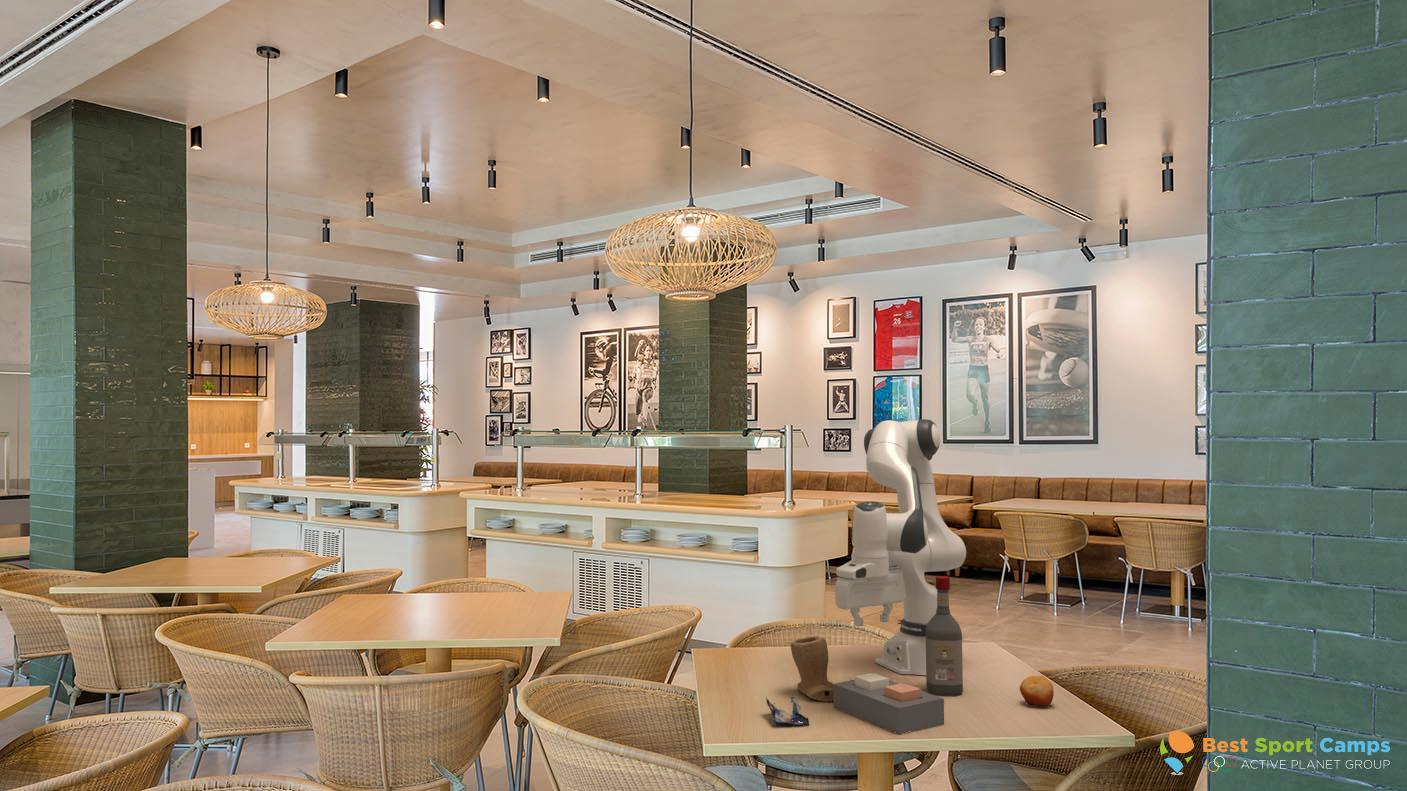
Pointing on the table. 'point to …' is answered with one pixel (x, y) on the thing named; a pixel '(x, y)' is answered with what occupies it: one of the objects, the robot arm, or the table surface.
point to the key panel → (888, 708)
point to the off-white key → (871, 681)
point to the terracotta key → (902, 692)
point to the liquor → (943, 647)
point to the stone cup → (812, 667)
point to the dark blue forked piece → (795, 716)
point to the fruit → (1037, 691)
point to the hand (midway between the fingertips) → (871, 623)
